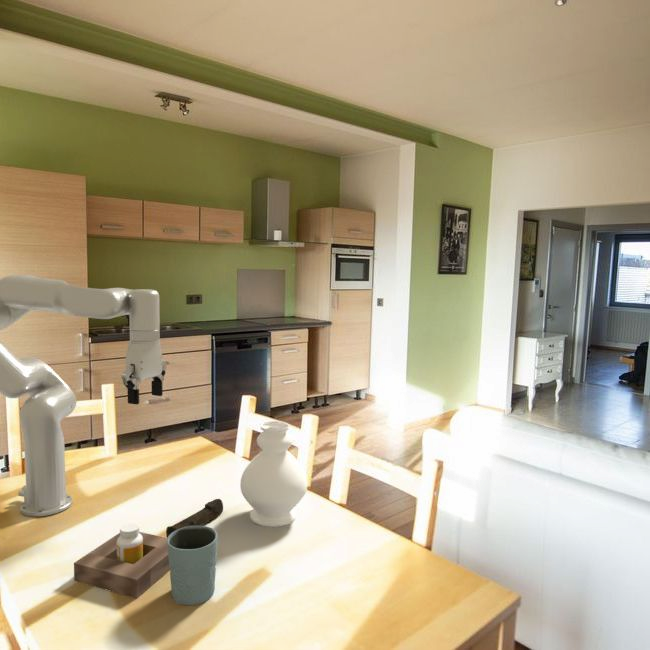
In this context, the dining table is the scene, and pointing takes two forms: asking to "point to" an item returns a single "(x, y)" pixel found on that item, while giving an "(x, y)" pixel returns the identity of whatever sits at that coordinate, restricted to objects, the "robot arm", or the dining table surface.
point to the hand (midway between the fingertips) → (145, 399)
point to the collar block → (124, 567)
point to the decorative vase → (274, 478)
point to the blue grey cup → (192, 564)
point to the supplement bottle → (130, 544)
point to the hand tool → (199, 516)
